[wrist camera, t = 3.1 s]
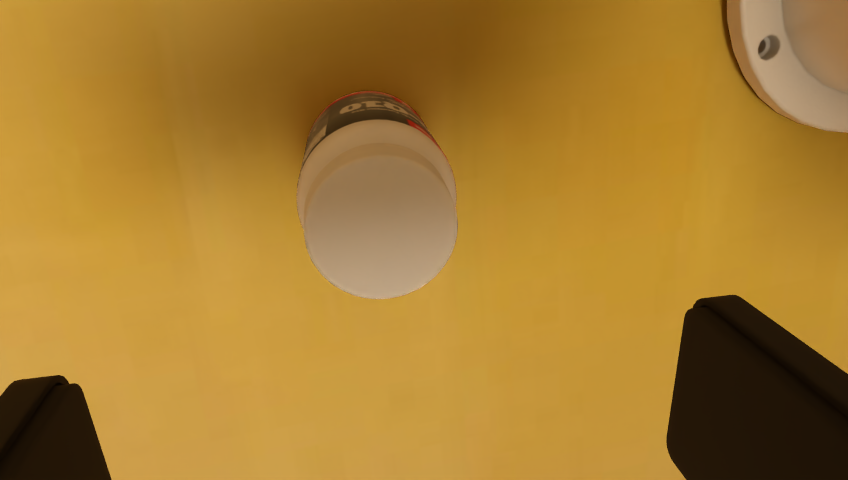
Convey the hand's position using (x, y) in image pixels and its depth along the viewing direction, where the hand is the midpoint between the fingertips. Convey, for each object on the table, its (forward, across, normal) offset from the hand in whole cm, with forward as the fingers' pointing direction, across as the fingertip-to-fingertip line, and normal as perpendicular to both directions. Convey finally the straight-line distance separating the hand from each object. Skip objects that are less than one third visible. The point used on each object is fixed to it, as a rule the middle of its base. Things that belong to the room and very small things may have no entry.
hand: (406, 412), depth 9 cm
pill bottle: (+15, 0, 0) cm, 15 cm away
